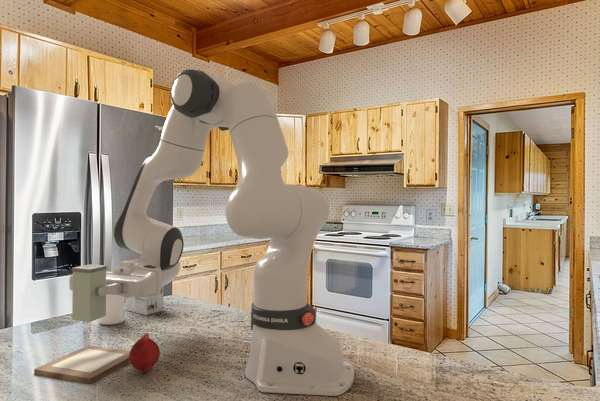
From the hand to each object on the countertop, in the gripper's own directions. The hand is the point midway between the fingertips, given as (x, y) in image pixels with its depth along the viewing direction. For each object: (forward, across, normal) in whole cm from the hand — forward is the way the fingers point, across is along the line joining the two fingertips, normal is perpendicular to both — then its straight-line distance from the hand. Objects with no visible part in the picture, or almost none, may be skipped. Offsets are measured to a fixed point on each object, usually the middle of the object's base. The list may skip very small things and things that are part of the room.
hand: (86, 290), depth 86 cm
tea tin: (-1, 0, +6) cm, 6 cm away
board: (-1, 0, +16) cm, 16 cm away
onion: (-1, +14, +16) cm, 21 cm away
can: (-27, -17, +16) cm, 36 cm away
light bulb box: (-40, -16, +17) cm, 46 cm away
